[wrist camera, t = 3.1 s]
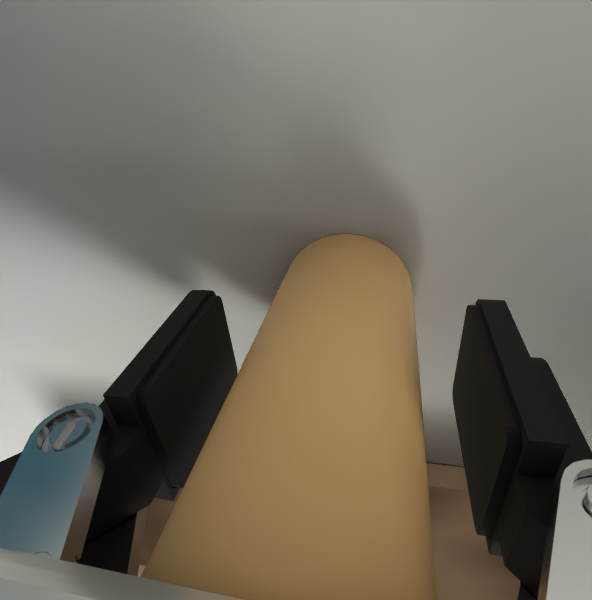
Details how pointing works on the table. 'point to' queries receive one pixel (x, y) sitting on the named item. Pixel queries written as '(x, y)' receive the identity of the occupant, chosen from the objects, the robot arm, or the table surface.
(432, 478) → the open box
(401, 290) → the peg
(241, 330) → the table surface
